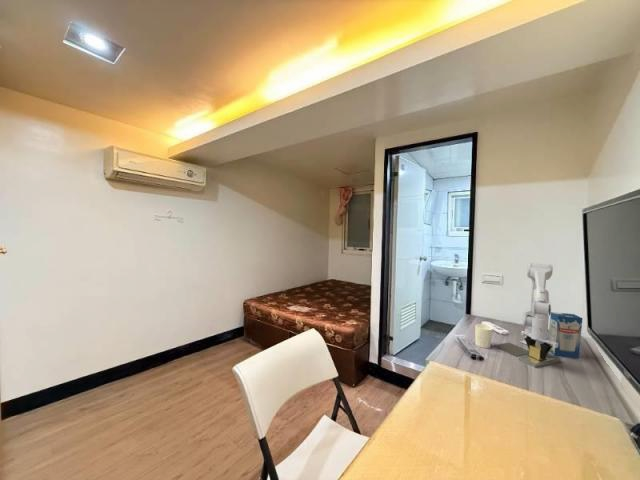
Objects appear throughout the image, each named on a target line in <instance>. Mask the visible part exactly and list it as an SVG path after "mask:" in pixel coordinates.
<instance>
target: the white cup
mask: <svg viewBox="0 0 640 480" xmlns="http://www.w3.org/2000/svg"><path fill="white" fill-rule="evenodd" d="M474 328H475V329H474V330H475V331H474V338H475V340H474V341H475V342H474V343H475V345H476V346H477V347H478V348H479V347H480V348H482V349H483V348H484V349H490V348H491V342H492V339H493V331H494V328H493V327H492V326H490V325H487V324H483V323H477V324H475V326H474Z"/></svg>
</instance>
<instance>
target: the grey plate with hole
mask: <svg viewBox="0 0 640 480" xmlns="http://www.w3.org/2000/svg"><path fill="white" fill-rule="evenodd" d="M518 360H519V361H520V362H523V363H525V364H527V365H529V366H531V367H533V368H539V367H542V366H547V365H551V364H556V363H560V362H561V360H562V358H561V356H555V355H553V354H552V353H551V352H548V354H547V356H546V359H545V360H544V361H538V360H536V359H533V358H531V357H529V354H527V355H522V356H518Z"/></svg>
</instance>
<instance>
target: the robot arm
mask: <svg viewBox="0 0 640 480" xmlns="http://www.w3.org/2000/svg"><path fill="white" fill-rule="evenodd" d="M553 270H554V269H553V265H552V264H546V263H544V264H543V263H534V262H529V263H528V264H527V269H526V271H527V272H526V276H527V277H528V279H530V280H531V282H532V285H531V295H530V296H531V297H530V298H531V299H530V308H529V309H526V310H524V312H523V316H522V326H523V327H525V329H524V330H521V332H520V335H521V336H523V337H524V339H523V340H520V341H519V342H520V343H522V344H525V345H527V348H528V349H527V350H528V351H529V350H530V345H535V344H537V345H539V346H541V359H545V358H546V356H547V354H548V353H550V352H549V351H550V349H551V348H552V347H554V348H557V347H558V343H556V342H554V341H552V340H550V339H549V337H548V333H549V331H548V330H549V322H550V316H551V312H552V305H551V302H550V294H549V291H548V290H547V289H546V288H547V287H546V286H547V285H546V284H547V281H548V280H550V279H551V278H552V276H553Z"/></svg>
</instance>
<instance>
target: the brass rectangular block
mask: <svg viewBox="0 0 640 480" xmlns="http://www.w3.org/2000/svg"><path fill="white" fill-rule="evenodd" d="M528 351H529V357H531V358H533V359H536V360H538V361H544V360H545V359H546V358H545V359H541V346H539V345H537V344H535V345H530V350H529V349H528Z"/></svg>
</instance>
